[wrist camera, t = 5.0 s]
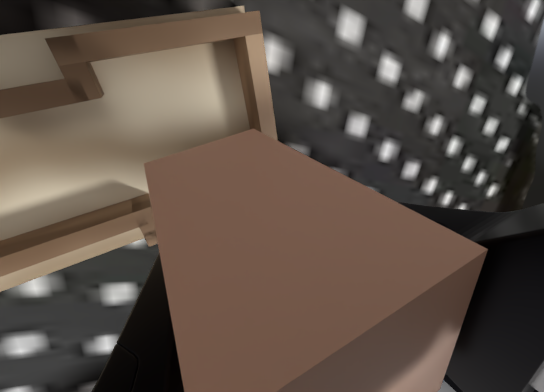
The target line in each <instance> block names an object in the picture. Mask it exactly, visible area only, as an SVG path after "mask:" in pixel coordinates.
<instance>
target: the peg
mask: <svg viewBox="0 0 544 392" xmlns="http://www.w3.org/2000/svg"><path fill="white" fill-rule="evenodd" d="M144 168H145V174H146V179H147V185H148V191H149V196H150V202H151V207H152V213H153V219H154V224H155V230H156V235H157V241H158V247H159V252H160V258H161V264H162V269H163V275H164V280H165V286H166V292H167V297H168V303H169V308H170V314H171V320H172V325H173V331H174V336H175V342H176V348H177V353H178V359H179V365H180V370H181V376H182V381H183V387H184V392H437V391H438V390H440V388H441V385H442V382H443V379H444V376H445V373H446V370H447V367H448V364H449V361H450V359H451V356H452V353H453V350H454V347H455V344H456V341H457V338H458V335H459V332H460V329H461V326H462V324H463V321H464V318H465V315H466V312H467V309H468V306H469V303H470V300H471V297H472V294H473V291H474V288H475V286H476V283H477V280H478V277H479V274H480V271H481V268H482V265H483V262H484V259H485V256H486V253H487V251H488V249H487V248H485V247H483V246H481V245H479V244H477V243H475V242H473V241H471V240H469V239H467V238H465V237H463V236H461V235H459V234H457V233H455V232H454V231H452V230H450V229H448V228H446V227H444V226H442V225H440V224H438V223H436V222H434V221H432V220H430V219H428V218H426V217H424V216H422V215H421V214H419V213H417V212H415V211H413V210H411V209H409V208H407V207H405V206H403V205H401V204H399V203H397V202H395V201H393V200H391V199H389V198H388V197H386V196H384V195H382V194H380V193H378V192H376V191H374V190H372V189H370V188H368V187H366V186H364V185H362V184H360V183H358V182H356V181H355V180H353V179H351V178H349V177H347V176H345V175H343V174H341V173H339V172H337V171H335V170H333V169H331V168H329V167H327V166H325V165H323V164H322V163H320V162H318V161H316V160H314V159H312V158H310V157H308V156H306V155H304V154H302V153H300V152H298V151H296V150H294V149H292V148H290V147H288V146H287V145H285V144H283V143H281V142H279V141H277V140H275V139H273V138H271V137H269V136H267V135H265V134H263V133H261V132H259V131H257V130H255V129H250V130H247V131H244V132H241V133H238V134H235V135H232V136H228V137H225V138H222V139H219V140H216V141H213V142H210V143H206V144H203V145H200V146H197V147H194V148H191V149H188V150H184V151H181V152H178V153H175V154H172V155H169V156H166V157H162V158H159V159H156V160H153V161H150V162H147V163H144Z"/></svg>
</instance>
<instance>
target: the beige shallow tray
mask: <svg viewBox="0 0 544 392" xmlns="http://www.w3.org/2000/svg"><path fill="white" fill-rule="evenodd" d="M250 129H255V130H257V131H259V132H261V133H263V134H265V135H267V136H269V137H271V138H273V139H275V140H277V132H276V125H275V118H274V111H273V104H272V97H271V90H270V83H269V75H268V68H267V61H266V54H265V47H264V40H263V33H262V26H261V18H260V11H253V12H245V11H244V6H237V7H229V8H220V9H212V10H204V11H195V12H187V13H179V14H171V15H162V16H154V17H146V18H137V19H129V20H121V21H113V22H104V23H96V24H88V25H79V26H71V27H63V28H55V29H46V30H38V31H30V32H22V33H13V34H5V35H0V292H1V291H3V290H6V289H9V288H12V287H14V286H17V285H20V284H22V283H25V282H28V281H30V280H33V279H36V278H38V277H41V276H44V275H46V274H49V273H52V272H54V271H57V270H60V269H62V268H65V267H68V266H71V265H73V264H76V263H79V262H81V261H84V260H87V259H89V258H92V257H95V256H97V255H100V254H103V253H105V252H108V251H111V250H113V249H116V248H119V247H122V246H124V245H127V244H130V243H132V242H135V241H138V240H140V239H143V238H145V240H146V242H147V244H148V246H149V247H150V246H152V245H155V244H157V243H158V241H157V235H156V230H155V224H154V219H153V213H152V207H151V202H150V196H149V191H148V185H147V179H146V174H145V168H144V163H147V162H150V161H153V160H156V159H159V158H162V157H166V156H169V155H172V154H175V153H178V152H181V151H184V150H188V149H191V148H194V147H197V146H200V145H203V144H206V143H210V142H213V141H216V140H219V139H222V138H225V137H228V136H232V135H235V134H238V133H241V132H244V131H247V130H250ZM277 141H278V140H277Z"/></svg>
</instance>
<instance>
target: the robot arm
mask: <svg viewBox="0 0 544 392" xmlns="http://www.w3.org/2000/svg"><path fill="white" fill-rule="evenodd" d="M398 203H399V204H401V205H403V206H405V207H407V208H409V209H411V210H413V211H415V212H417V213H419V214H421V215H422V216H424V217H426V218H428V219H430V220H432V221H434V222H436V223H438V224H440V225H442V226H444V227H446V228H448V229H450V230H452V231H454V232H455V233H457V234H459V235H461V236H463V237H465V238H467V239H469V240H471V241H473V242H475V243H477V244H479V245H481V246H483V247H485V248H487V249H488V251H487V253H486V256H485V259H484V262H483V265H482V268H481V271H480V274H479V277H478V280H477V283H476V286H475V288H474V291H473V294H472V297H471V300H470V303H469V306H468V309H467V312H466V315H465V318H464V321H463V324H462V326H461V329H460V332H459V335H458V338H457V341H456V344H455V347H454V350H453V353H452V356H451V359H450V361H449V364H448V367H447V370H446V373H445V376H444V379H443V380H444V381H445V382H447V383H448V384H449V385H450V386H451V387H452V388H453V389H454V390H455V391H456V392H544V203H543V204H539V205H536V206H533V207H529V208H526V209H522V210H518V211H512V212H483V211H472V210H462V209H451V208H441V207H431V206H422V205H415V204H408V203H401V202H398ZM92 392H184V387H183V381H182V376H181V370H180V365H179V359H178V353H177V348H176V342H175V336H174V331H173V325H172V320H171V314H170V308H169V303H168V297H167V292H166V286H165V280H164V275H163V269H162V264H161V258H160V252H159V254H158V257H157V259H156V261H155V263H154V265H153V267H152V269H151V271H150V273H149V275H148V278H147V280H146V282H145V284H144V286H143V288H142V290H141V292H140V294H139V297H138V299H137V301H136V303H135V305H134V307H133V309H132V311H131V313H130V315H129V318H128V320H127V322H126V324H125V326H124V328H123V330H122V332H121V334H120V336H119V339H118V341H117V344H116V345H115V347H114V349H113V351H112V353H111V355H110V357H109V359H108V361H107V363H106V365H105V367H104V369H103V371H102V373H101V375H100V377H99V379H98V381H97V383H96V385H95V387H94V388H93V390H92Z"/></svg>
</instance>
